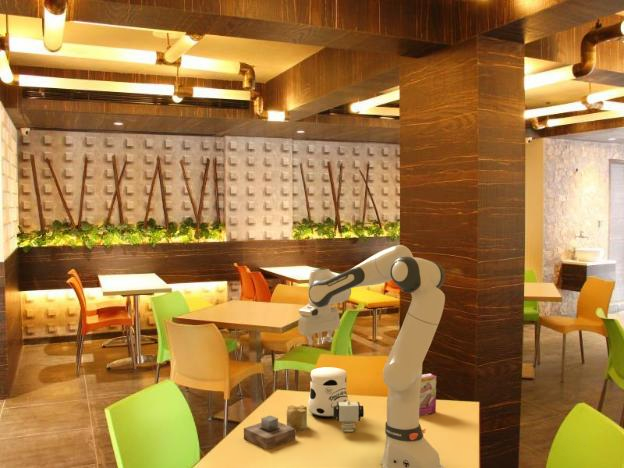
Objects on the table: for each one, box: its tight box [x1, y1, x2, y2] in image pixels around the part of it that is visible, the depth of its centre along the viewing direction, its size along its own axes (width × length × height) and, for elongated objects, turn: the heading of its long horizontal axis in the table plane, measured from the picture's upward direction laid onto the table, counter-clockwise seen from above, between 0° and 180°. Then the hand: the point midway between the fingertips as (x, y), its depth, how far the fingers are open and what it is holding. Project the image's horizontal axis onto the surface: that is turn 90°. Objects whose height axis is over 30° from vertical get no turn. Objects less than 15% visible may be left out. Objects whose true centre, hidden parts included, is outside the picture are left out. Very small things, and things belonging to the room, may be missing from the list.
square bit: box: [260, 415, 279, 433], centre depth 230 cm, size 4×4×8 cm
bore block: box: [243, 421, 296, 450], centre depth 230 cm, size 14×14×4 cm
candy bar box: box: [419, 373, 437, 417], centre depth 257 cm, size 11×5×16 cm, turn 115°
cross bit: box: [286, 404, 308, 432], centre depth 241 cm, size 8×8×8 cm
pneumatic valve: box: [333, 400, 365, 433], centre depth 238 cm, size 6×12×12 cm, turn 91°
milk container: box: [307, 366, 350, 418], centre depth 257 cm, size 17×17×18 cm
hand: (319, 342), depth 241 cm, fingers open, 8 cm apart
